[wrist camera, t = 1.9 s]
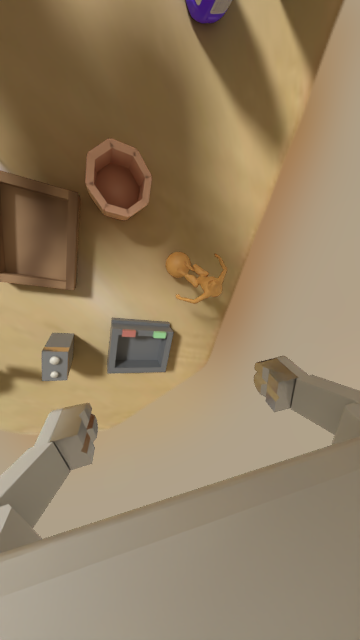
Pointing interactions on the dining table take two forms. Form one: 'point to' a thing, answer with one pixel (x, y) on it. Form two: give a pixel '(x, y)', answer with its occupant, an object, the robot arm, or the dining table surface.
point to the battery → (57, 357)
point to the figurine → (181, 265)
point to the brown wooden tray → (38, 233)
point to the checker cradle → (138, 346)
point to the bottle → (207, 9)
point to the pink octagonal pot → (117, 179)
